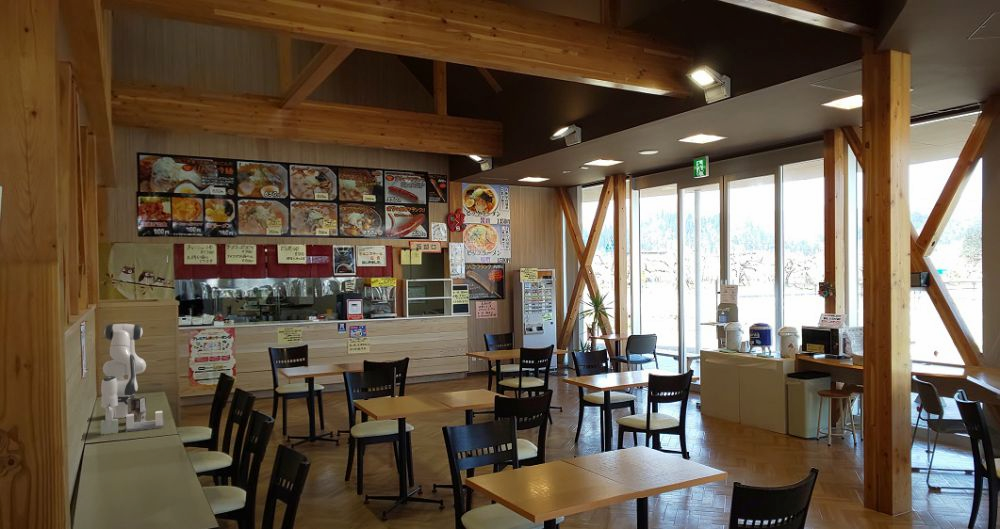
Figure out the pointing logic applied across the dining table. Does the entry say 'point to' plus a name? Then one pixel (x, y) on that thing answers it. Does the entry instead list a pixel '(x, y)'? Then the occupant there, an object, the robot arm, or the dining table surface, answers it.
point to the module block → (112, 429)
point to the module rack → (144, 425)
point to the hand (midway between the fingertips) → (109, 425)
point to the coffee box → (137, 408)
